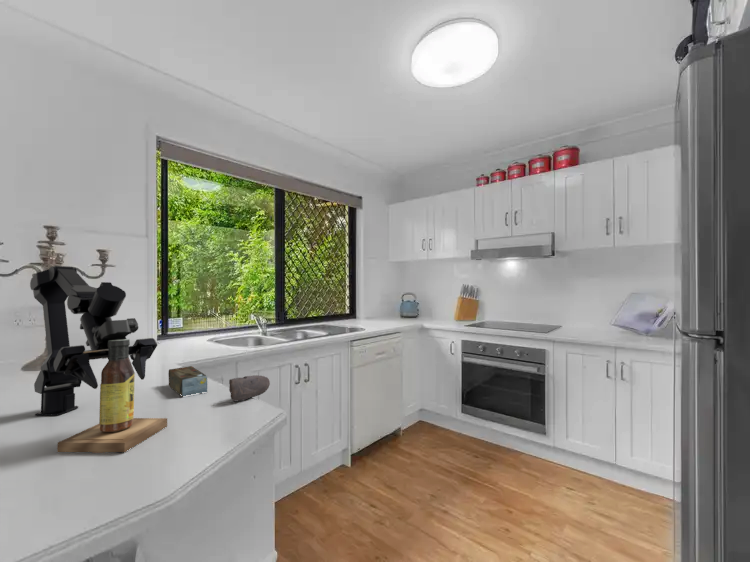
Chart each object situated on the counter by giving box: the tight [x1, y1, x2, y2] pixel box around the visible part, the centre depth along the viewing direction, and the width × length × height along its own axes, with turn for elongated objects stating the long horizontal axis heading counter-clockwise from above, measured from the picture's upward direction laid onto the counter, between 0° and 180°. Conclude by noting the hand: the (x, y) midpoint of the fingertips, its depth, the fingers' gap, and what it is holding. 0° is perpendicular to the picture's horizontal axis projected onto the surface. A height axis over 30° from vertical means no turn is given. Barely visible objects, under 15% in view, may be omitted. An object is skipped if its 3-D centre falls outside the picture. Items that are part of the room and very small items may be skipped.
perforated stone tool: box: [228, 374, 271, 402], centre depth 108 cm, size 15×5×7 cm, turn 144°
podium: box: [56, 417, 168, 454], centre depth 78 cm, size 14×14×2 cm
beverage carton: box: [168, 365, 208, 397], centre depth 118 cm, size 8×19×7 cm, turn 42°
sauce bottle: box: [98, 338, 136, 432], centre depth 78 cm, size 6×6×20 cm
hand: (121, 382), depth 77 cm, fingers open, 9 cm apart
